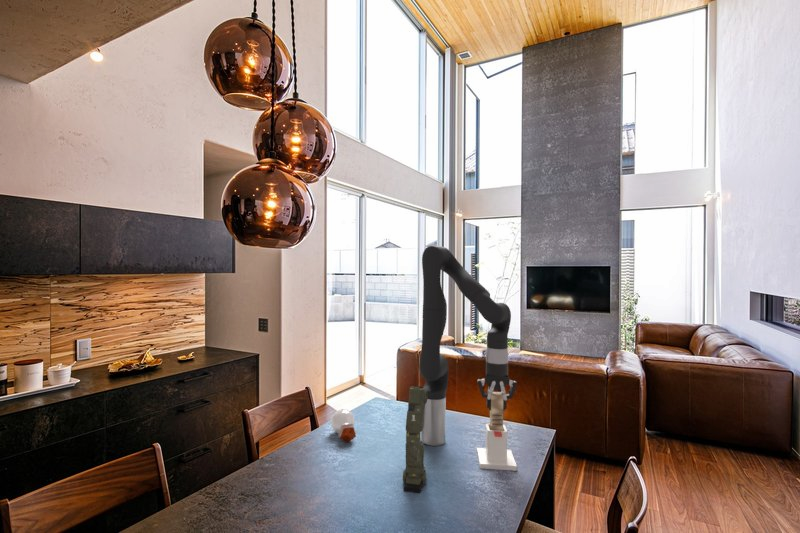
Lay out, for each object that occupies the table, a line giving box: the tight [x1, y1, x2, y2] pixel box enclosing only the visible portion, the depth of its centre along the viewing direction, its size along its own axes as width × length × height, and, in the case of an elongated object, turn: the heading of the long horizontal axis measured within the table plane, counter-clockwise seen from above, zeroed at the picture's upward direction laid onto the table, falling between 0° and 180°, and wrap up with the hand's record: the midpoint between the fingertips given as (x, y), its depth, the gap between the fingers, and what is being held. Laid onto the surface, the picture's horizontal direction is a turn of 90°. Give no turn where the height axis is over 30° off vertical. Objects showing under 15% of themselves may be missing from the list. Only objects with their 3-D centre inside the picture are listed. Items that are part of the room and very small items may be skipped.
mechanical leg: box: [402, 385, 427, 494], centre depth 124 cm, size 14×7×30 cm, turn 169°
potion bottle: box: [330, 408, 357, 444], centre depth 156 cm, size 9×10×15 cm
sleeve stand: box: [476, 423, 518, 472], centre depth 137 cm, size 12×12×12 cm
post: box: [489, 391, 504, 431], centre depth 137 cm, size 4×4×22 cm
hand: (496, 409), depth 137 cm, fingers closed on post, 4 cm apart
